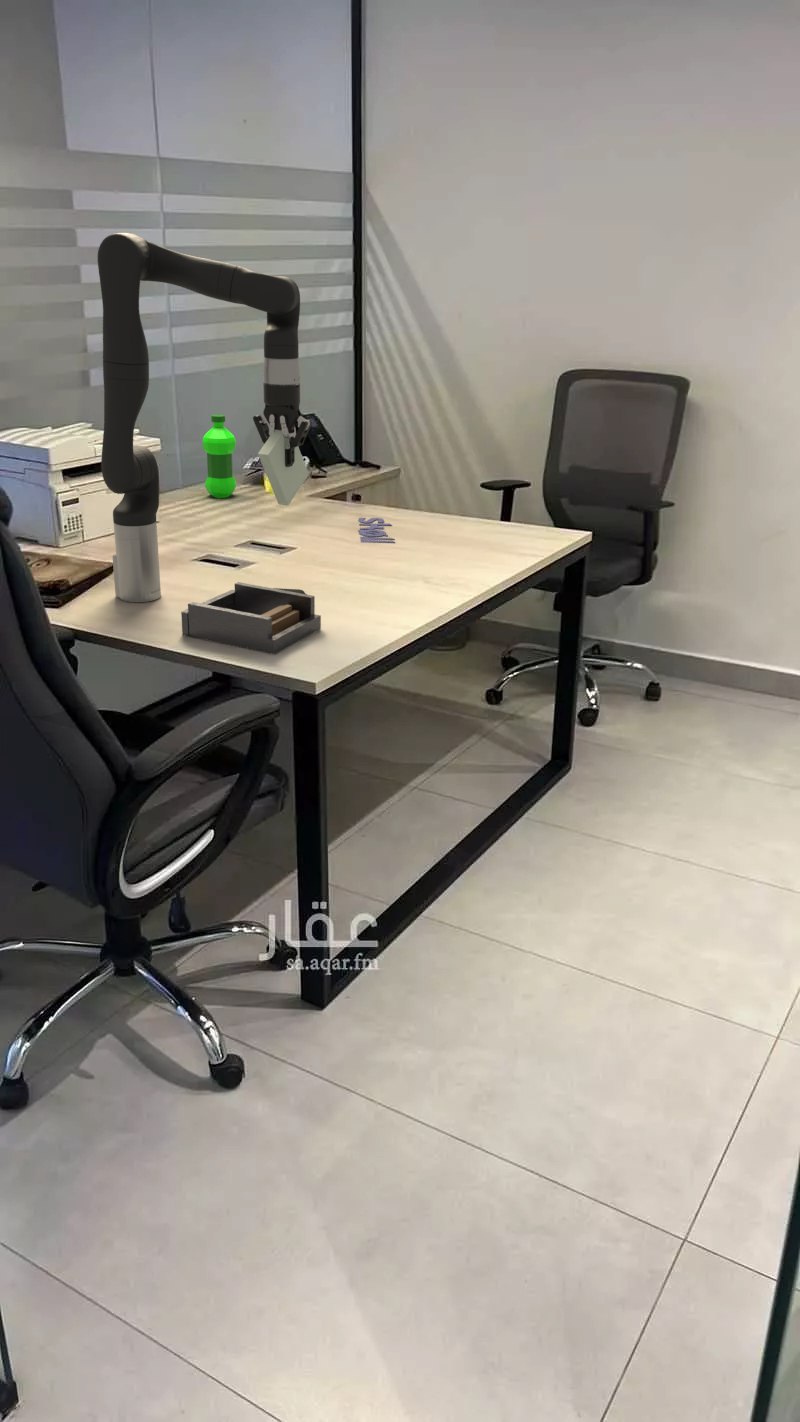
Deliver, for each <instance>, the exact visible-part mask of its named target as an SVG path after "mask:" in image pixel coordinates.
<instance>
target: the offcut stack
mask: <svg viewBox="0 0 800 1422" xmlns="http://www.w3.org/2000/svg"><path fill="white" fill-rule="evenodd" d="M262 616H267V617H272V636H274V635H276V634H278V633H280V632H282V631H284V630H286V629H288V628H290V627H291V626H293V625H295V624H297V623H299V611H297V610H293V611H292V605H281V606H279V607H276V608H274V609H272V610H270V611H268V612H266V613H264V614H262Z"/></svg>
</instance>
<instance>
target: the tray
mask: <svg viewBox="0 0 800 1422" xmlns="http://www.w3.org/2000/svg"><path fill="white" fill-rule="evenodd" d="M274 588H275V587H267V586H261V585H256V584H253V583H252V584H251V583H245V582H240V581H238V582H236V583H234V589H230V590H228V591H226V592H224V593H221V594H219V595H217V596H214V597H211V598H210V599H208V600H206V601H203V602H201V603H200V602H195V601H192V602H188V603H187V609H184V610H182V611H181V613H180V614H181V632H182V633H181V634H182V636H184V635H185V637H190V638H193V639H194V638H195V639H198V640H199V639H200V640H203V641H209V642H212V643H213V642H214V643H217V644H218V643H219V644H222V645H227V646H230V647H231V646H232V647H236V648H242V649H246V650H250V651H251V650H252V651H256V652H261V653H264V654H270V655H273V656H274V655H276V654H278V653H280V652H282V651H285V649H287V648H289V647H291V646H293V645H295V644H296V643H298V642H300V641H302V640H304V639H305V638H307V637H309V636H311V635H313V634H315V633H317V632H318V631H320V630H322V627H321V625H322V624H321V623H322V619H321V618H322V615H320V614H315V612H316V611H315V610H316V609H315V607H316V606H315V603H316V602H315V599H316V598H315V595H310V594H307V593H306V594H307V595H306V594H301V593H295V592H290V591H284V590H279V589H274ZM281 605H292V611H293V610H297V611H299V623H297V624H295V625H293V626H291V627H290V628H288V629H286V630H284V631H282V632H280V633H278V634H276V635H274V636H272V617H267V616H262V614H264V613H266V612H268V611H270V610H272V609H274V608H276V607H279V606H281Z"/></svg>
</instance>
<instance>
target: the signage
mask: <svg viewBox="0 0 800 1422" xmlns="http://www.w3.org/2000/svg"><path fill="white" fill-rule="evenodd" d="M376 521H377V523H374V522H376ZM357 522H358V523H359V524H358V525H359V526H360V527H359V529H358V530H357V533H358V534H359V535H360V537H359V539H360V540H359V541H360V543H363V544H364V543H365V544H368V543H369V544H370V543H373V544H376V543H377V544H396V542H395V540H396V539H395V538H394V537H393V538H392V537H390V536H389V535H388V534H387V532H386V531H384V530H385V527H392V526H393V524H391V523H390V522H389V523H388V522H386V523H385V520H384V518H380V517H370V518H369V519H367V520H366V517H359V518H358V519H357ZM361 526H363V527H361ZM365 526H367V527H365Z"/></svg>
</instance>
